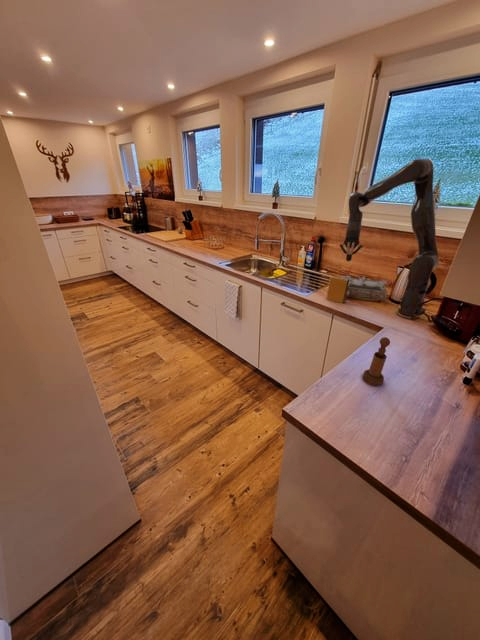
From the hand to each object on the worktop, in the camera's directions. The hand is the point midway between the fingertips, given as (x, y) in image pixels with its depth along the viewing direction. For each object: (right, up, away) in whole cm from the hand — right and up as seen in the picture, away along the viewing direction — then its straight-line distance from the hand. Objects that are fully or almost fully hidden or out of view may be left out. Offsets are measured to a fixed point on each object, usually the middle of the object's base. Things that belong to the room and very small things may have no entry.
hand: (348, 261), depth 155 cm
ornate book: (+13, -19, +11) cm, 25 cm away
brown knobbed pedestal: (-16, -57, -59) cm, 84 cm away
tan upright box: (-7, -23, +2) cm, 24 cm away
